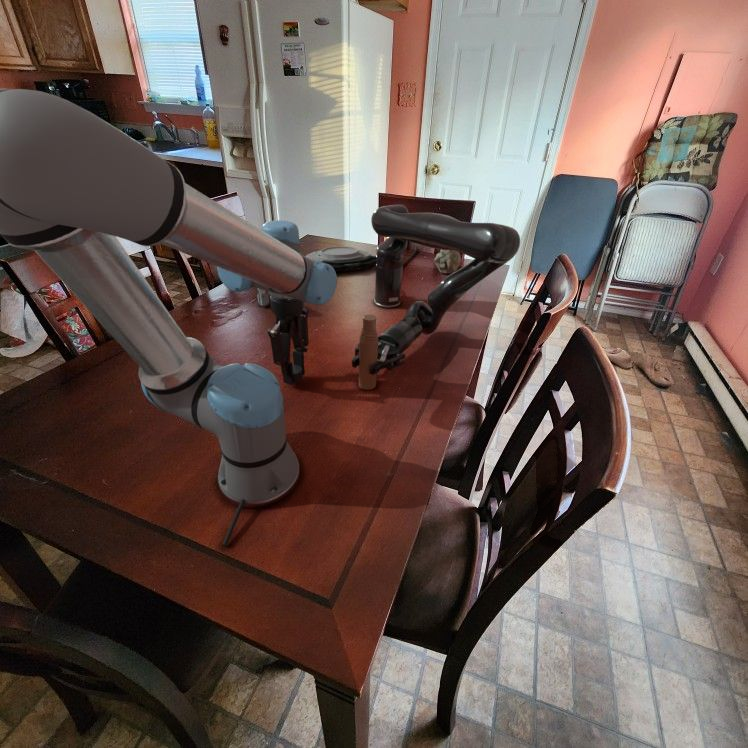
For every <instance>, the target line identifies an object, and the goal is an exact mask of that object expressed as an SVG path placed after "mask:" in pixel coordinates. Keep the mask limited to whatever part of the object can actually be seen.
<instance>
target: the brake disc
mask: <svg viewBox="0 0 748 748" xmlns="http://www.w3.org/2000/svg"><path fill="white" fill-rule="evenodd" d="M305 257H307V258H309V259H311V260H314V261H321V262H322V263H325V264H329V265H330V266H332V267H333V268H334V270H335V272H349V271H357V270H362V269H367V268H374V267H376V255H374V254H373V253H372V252H370V251H367V250H363V249H358V248H356V247H353V246H340V245H339V246H330V247H329V246H328V247H325V248H322V249H320V250H316V251H313V252H310V253H308V254H306V255H305Z"/></svg>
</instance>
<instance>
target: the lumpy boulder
mask: <svg viewBox="0 0 748 748" xmlns="http://www.w3.org/2000/svg"><path fill="white" fill-rule="evenodd" d="M433 262H434V265H435V266H436V268H437V269H438V271H439V272H440V273H441V274H445V275H447V274H448V275H451V274H452V273H454V272H456V271H457V270H459V269H458V268H459V266H460V264H461V262H462V257H461V253H460V252H457V251H454V250H440V251H439V252H438V253H437V254H436V256H435V257H434V259H433Z"/></svg>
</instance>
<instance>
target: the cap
mask: <svg viewBox="0 0 748 748" xmlns="http://www.w3.org/2000/svg"><path fill="white" fill-rule="evenodd" d="M292 365H293V376H294V384H296V383H299V382H301V381H302V380H303V377H304V375H303V373H302V368H301V366H299V365H294V364H292Z"/></svg>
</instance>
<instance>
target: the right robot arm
mask: <svg viewBox="0 0 748 748" xmlns="http://www.w3.org/2000/svg"><path fill="white" fill-rule="evenodd" d="M370 222H371V227H372V229H373V231H374V232H375V233H376V234H377V236H379V237H382V238H386V239H385V240H384V241H382V242H381V243H380V244H378V245H377V247H376V253H375V254H376V255H375V256H376V266H375V281H374V283H375V284H374V299H373V303H374V304H375V305H376V306H377V307H379V308H386V309H392V308H396V307H399V306H400V305H401V296H402V295H401V294H402V282H403V271H404V270H403V269H404V265H405V264H407V263H408V262H409V261H410V260H411V259H412V258H413V257H414V256H415V255H416V253H417V251H418V249H419V247H418V246H415V249H414V251H413V253H412V254H411V255H410V256H409V257H408V258H407V259H406V260H405V259H404V258H405V252H406V249H407V246H408V242H410V243H413V244H417V245H420V246H424V247H427V248H431V249H435V250H440V251H441V250H454V251H457V252H459V254H463V255H466V256H468V257H471V258H472V260H471V261H470V262H469V263H467V264H465V265H464V266H462V267H460V268H459V269H457V270H456V272H454V273H451V274H448V275H447V276H446V277H445V278H444V279H443V280H442V281H441V282H439V284H437V286H436V287H435V288H434V289H433V290H432V291H431V292H430V293H429V294H428V296H427V303H426V302H425V301H422V300H417V301H415V302H413V303H412V304H410V306H409V308H408V309H407V311H406V313H405V315H404V317H403V318H402V319H400V321H398V322H397V323H395V324H393V325H391V326H390V327H389V328H388V329H386V330H385V331H383V332H382V333H381V334H379V335H378V358H377V362H376V363H374V364H373V365H372V366H371V367H370V374H371V375H373V374H376V373H377V374H378V373H379V372H380V371H381V370H384V369H386V371H392V370H394V369H396V368H398V367H400V366H403V365H404V364H405V362H406V353H404V352H405V351H406V350H407V349H408V348H409V347H410V346H411V345H412V344H413V343H414V342H415V341H416V340H417V339H418V338H419V337H420V336H421V335H425V336H426V335H432V334H433V333H435V332H436V331H437V329H438V328H439V326H440V324H441V322H442V320H443V318H444V316H445V315H446V314H447V312H448V311H449V310H450V309H451V308H452V307H453V306H454V305H455V304H456V303H457V302H458V301H459V300H460V299H461V298H462V297H463V296H464V295H466V294H467V293H468V292H469V291H470V290H471V289H472V288H473V287H475V286H476V285H478V284H479V283H480V282H481V281H483V280H484V279H485V278H487V277H488V276H489V275H491V274H492V273H494V272H495V271H496V270H498V269H499V268H501V267H502V266H504V265H505V264H507V263H508V262H510V261H511V260H512V259H513V258H514V257H516V255H517V253H518V251H519V249H520V246H521V236H520V234H519V232H518V231H517V230H516V229H515V228H513V227H512V226H509V225H505V224H500V223H496V222H467V221H461V220H459V219H456V218H455V217H452V216H450V215H446V214H442V213H435V212H410V213H409V211H408V208H407V207H406V206H405V205H403V204H391V205H383V206H380V207H378V208H376V209H375V210H374V212H373V213H372V214H371V219H370ZM404 260H405V261H404ZM351 367H352V368H354V369H356V368H357V367H359V343H358V344H357V345H356V347H355V348H354V356H353V358H352V359H351Z"/></svg>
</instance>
